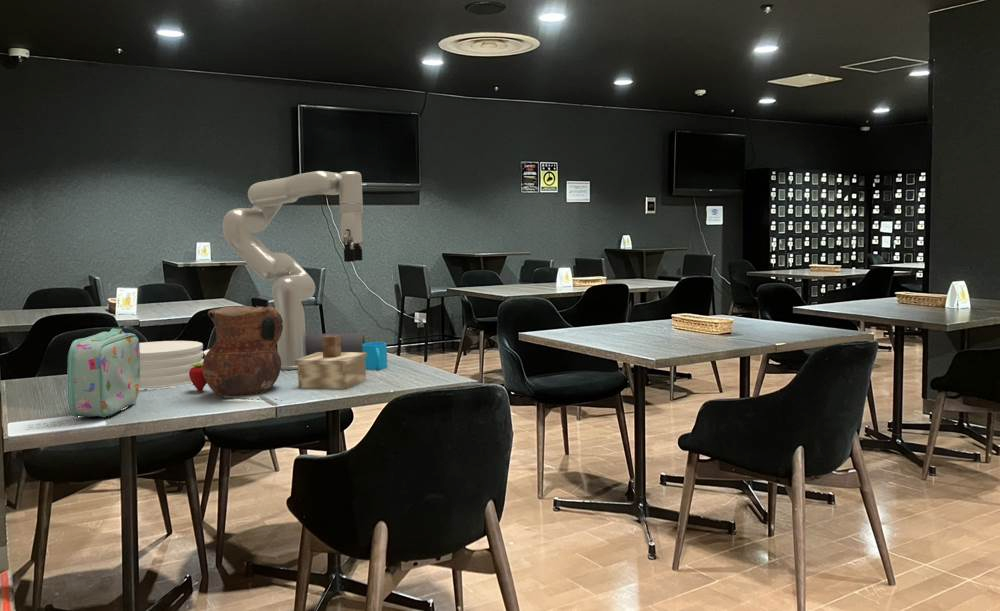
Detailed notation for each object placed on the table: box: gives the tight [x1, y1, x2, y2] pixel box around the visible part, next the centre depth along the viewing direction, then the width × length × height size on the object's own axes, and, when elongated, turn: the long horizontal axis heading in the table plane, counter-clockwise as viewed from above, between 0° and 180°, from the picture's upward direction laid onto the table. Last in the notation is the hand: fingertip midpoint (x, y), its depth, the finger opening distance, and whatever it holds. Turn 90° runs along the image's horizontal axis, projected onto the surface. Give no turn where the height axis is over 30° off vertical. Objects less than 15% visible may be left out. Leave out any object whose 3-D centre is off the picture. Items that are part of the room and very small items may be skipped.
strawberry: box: [189, 357, 208, 392], centre depth 245 cm, size 6×8×10 cm
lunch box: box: [66, 327, 140, 418], centre depth 219 cm, size 27×10×21 cm, turn 4°
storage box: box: [297, 358, 367, 390], centre depth 248 cm, size 15×15×8 cm
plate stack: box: [139, 340, 205, 388], centre depth 262 cm, size 28×28×12 cm
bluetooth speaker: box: [305, 332, 366, 356], centre depth 298 cm, size 23×9×10 cm, turn 95°
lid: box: [295, 335, 367, 365], centre depth 247 cm, size 16×16×7 cm
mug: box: [362, 341, 388, 371], centre depth 280 cm, size 12×8×8 cm
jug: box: [202, 305, 283, 399], centre depth 239 cm, size 22×21×25 cm
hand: (353, 261), depth 277 cm, fingers open, 9 cm apart
